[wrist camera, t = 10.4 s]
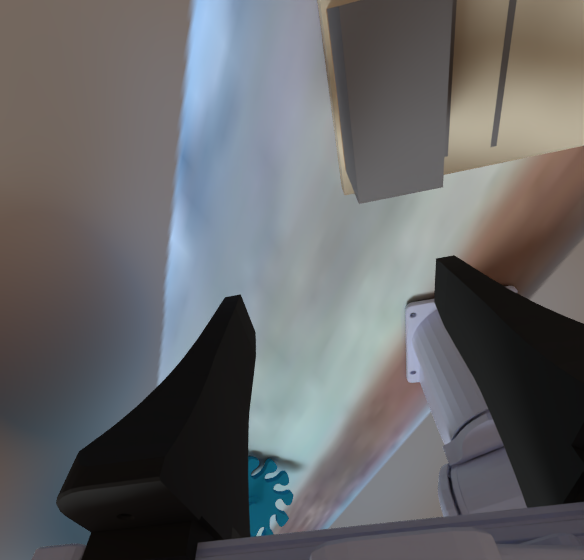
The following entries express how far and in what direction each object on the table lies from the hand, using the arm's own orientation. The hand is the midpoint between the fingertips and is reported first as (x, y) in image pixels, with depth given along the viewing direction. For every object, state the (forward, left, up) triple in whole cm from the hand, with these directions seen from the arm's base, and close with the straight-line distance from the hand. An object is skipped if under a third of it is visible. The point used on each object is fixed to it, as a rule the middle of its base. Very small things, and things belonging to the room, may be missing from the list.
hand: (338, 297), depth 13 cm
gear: (-33, +14, -10) cm, 37 cm away
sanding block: (+5, -4, -9) cm, 11 cm away
